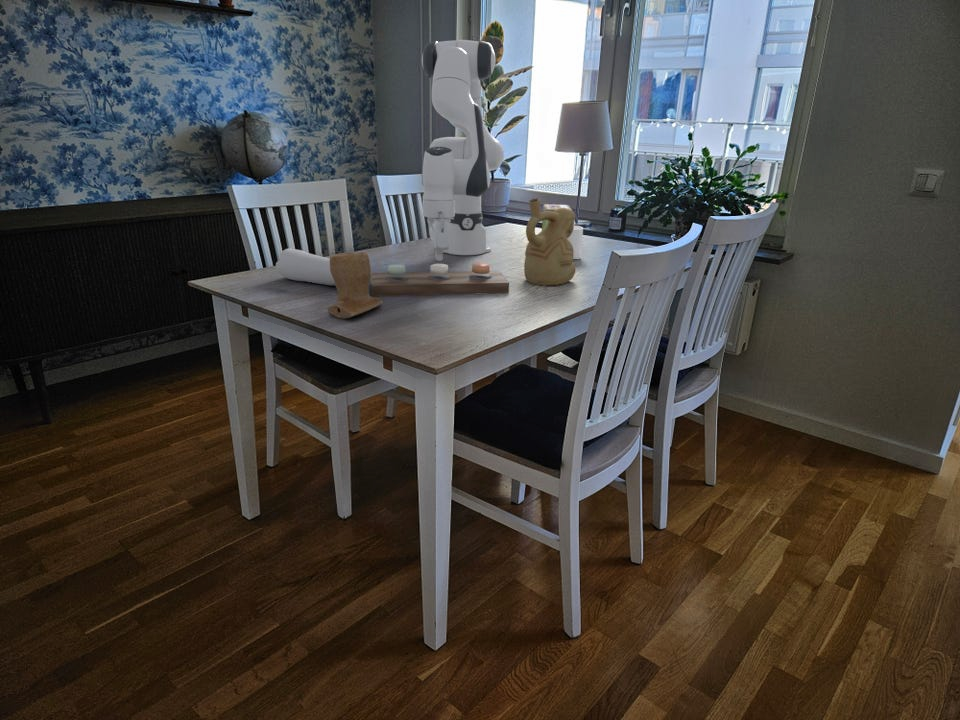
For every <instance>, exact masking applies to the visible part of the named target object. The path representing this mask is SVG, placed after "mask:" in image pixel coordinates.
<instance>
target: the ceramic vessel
mask: <svg viewBox="0 0 960 720" xmlns="http://www.w3.org/2000/svg"><path fill="white" fill-rule="evenodd" d="M540 201H541V200H540V199H539V198H532V199H529V200H528V204H529V209H530V218H529V220H528V221H527V224H526V227H525V236H526V239H527V241H528V243H527V245H526V247H525V251H524V255H525V256H524V257H525V258H524V265H523V267H524V268H523V269H524V270H523V271H524V272H523V273H524V277H525V279H526V281H528V283H531V284H532V283H533V285H536V284H538V285H537V286H543V285H556V286H560V285H559V284H561V285H565V284H567V283H569V280H570V281H571V280H572V279H573V278H574V276H575V274H576V270H577V269H576V266H575V264H574V263H573V261H574V260H573V254H574V251H573V246H572V244H571V243H570V242H569V241H568V239H567V238H568V237H569V236H570V235H571V234H572V232H573V229H574V226H575V220H576V214H575V212H573V210H572V211H571V210H569V209H567V208H559V209H556V210H555V211H554V212H551V211H544V212H543V211H541V206H540V205H541V203H540ZM546 219H547V220H548V222H547V225H546V227H545V228H544V229H543V230H542V229H541V231H540V232H538V233H537V234H536V226H537V225H538V223H540V222H542V220H546ZM564 283H565V284H564Z"/></svg>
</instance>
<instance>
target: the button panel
mask: <svg viewBox="0 0 960 720" xmlns="http://www.w3.org/2000/svg"><path fill="white" fill-rule="evenodd" d="M371 292H372V293H371V294H372V296H371V297H395V296H396V297H398V296H399V297H400V296H440V295H441V294H442V295H443V296H444V294H446V295H475V294H476V293H487V294H509V293H510V282H509V281H508V279H507V278H506V276H505V275H504V274H503V272H502V271H501V270H489V273H487V274H476V273H473V272H472V270H465V271H463V270H460V271H459V270H457V271H454V270H453V271H448V273H447V274H444V275H435V274H431V271H414V272H411V271H410V272H409V271H408V272H407V271H406V274H405V275H400V276H394V275H389V274H388V272H372V273H371ZM476 295H477V294H476Z"/></svg>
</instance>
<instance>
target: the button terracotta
mask: <svg viewBox="0 0 960 720" xmlns="http://www.w3.org/2000/svg"><path fill="white" fill-rule="evenodd" d="M471 267H472V268H471V271H472V272H473V273H476V274H487V273H489V271H491V269H490V267H491V266H490V264H488V263H485V262H476V263H472V264H471Z"/></svg>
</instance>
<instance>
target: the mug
mask: <svg viewBox="0 0 960 720" xmlns="http://www.w3.org/2000/svg"><path fill="white" fill-rule="evenodd" d="M573 226H574V229H573V232H572V234H571V235H570V236H569V237H568V238H567V239H568V241H569V242H570V243H571V244H572V246H573V251H574V254H573V259H578V260H580V259H581V258H582V246H583V235H584V227H582V226H579V225H573ZM579 258H580V259H579Z"/></svg>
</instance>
